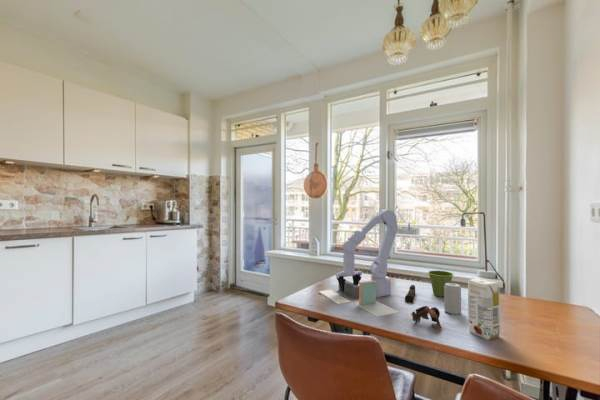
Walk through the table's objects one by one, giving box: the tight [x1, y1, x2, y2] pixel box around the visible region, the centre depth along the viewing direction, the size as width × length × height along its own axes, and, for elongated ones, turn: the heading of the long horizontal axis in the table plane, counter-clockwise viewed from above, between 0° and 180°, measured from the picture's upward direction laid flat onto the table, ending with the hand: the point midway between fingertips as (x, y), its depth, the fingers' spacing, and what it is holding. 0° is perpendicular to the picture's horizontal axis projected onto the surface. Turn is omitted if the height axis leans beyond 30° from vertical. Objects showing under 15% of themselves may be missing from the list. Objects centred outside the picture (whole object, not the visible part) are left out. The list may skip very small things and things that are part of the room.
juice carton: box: [467, 277, 501, 341], centre depth 100 cm, size 8×9×19 cm
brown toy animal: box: [411, 305, 442, 332], centre depth 108 cm, size 12×10×8 cm
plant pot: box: [427, 270, 454, 298], centre depth 144 cm, size 12×12×11 cm
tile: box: [358, 280, 377, 305], centre depth 130 cm, size 8×2×10 cm, turn 112°
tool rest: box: [318, 289, 352, 305], centre depth 139 cm, size 7×20×1 cm, turn 23°
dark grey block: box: [338, 279, 359, 299], centre depth 145 cm, size 3×16×6 cm, turn 23°
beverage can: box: [443, 282, 462, 315], centre depth 121 cm, size 6×6×12 cm
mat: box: [355, 300, 399, 317], centre depth 125 cm, size 12×16×1 cm
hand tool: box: [404, 284, 416, 304], centre depth 140 cm, size 19×4×5 cm, turn 150°
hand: (348, 290), depth 145 cm, fingers open, 7 cm apart
